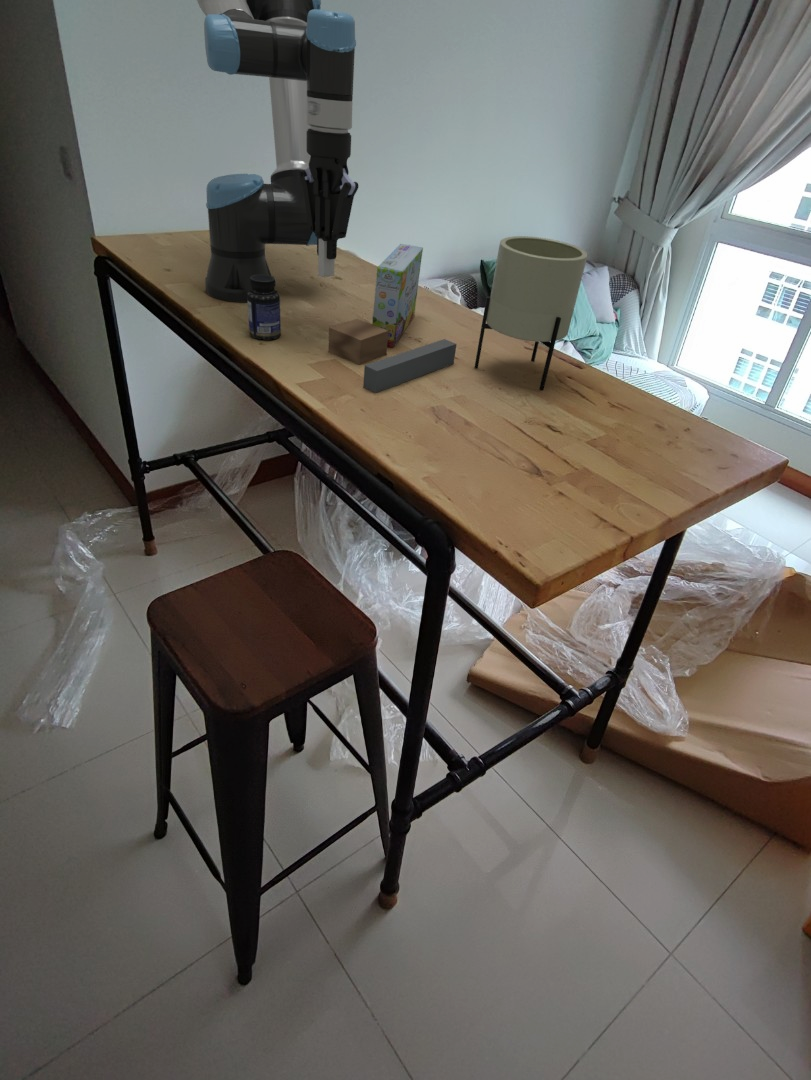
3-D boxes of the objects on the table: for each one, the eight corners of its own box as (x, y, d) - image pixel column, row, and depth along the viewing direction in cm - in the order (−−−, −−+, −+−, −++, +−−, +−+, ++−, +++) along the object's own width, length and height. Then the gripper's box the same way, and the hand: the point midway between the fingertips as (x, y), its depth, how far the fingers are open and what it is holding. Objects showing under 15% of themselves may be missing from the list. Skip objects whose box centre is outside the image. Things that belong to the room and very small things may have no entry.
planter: (508, 395, 117) (537, 262, 103) (463, 361, 127) (483, 236, 113) (573, 386, 123) (608, 259, 109) (525, 354, 134) (551, 235, 120)
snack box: (396, 349, 129) (403, 270, 120) (369, 344, 130) (374, 266, 120) (416, 316, 146) (424, 245, 137) (392, 312, 146) (398, 241, 137)
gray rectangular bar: (363, 386, 113) (364, 365, 111) (441, 358, 127) (444, 338, 125) (375, 392, 112) (377, 371, 109) (453, 363, 126) (456, 343, 123)
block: (328, 352, 124) (329, 327, 121) (355, 343, 130) (357, 318, 127) (359, 366, 121) (360, 340, 118) (386, 355, 126) (388, 330, 123)
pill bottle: (286, 334, 129) (285, 277, 122) (269, 343, 125) (267, 285, 118) (261, 327, 131) (258, 271, 124) (242, 336, 126) (239, 277, 120)
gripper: (286, 123, 109) (288, 269, 123) (339, 135, 102) (335, 287, 117) (319, 124, 114) (317, 264, 128) (372, 135, 107) (364, 281, 121)
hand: (326, 275), depth 122 cm, fingers closed
